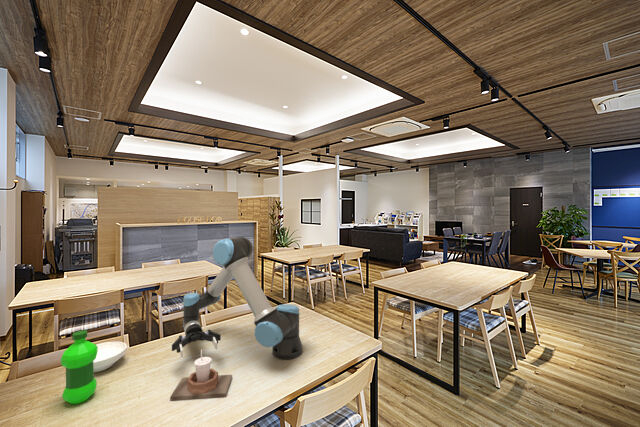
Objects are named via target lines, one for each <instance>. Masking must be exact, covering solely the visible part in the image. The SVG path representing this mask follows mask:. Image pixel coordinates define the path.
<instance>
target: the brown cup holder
mask: <svg viewBox="0 0 640 427" xmlns="http://www.w3.org/2000/svg"><path fill="white" fill-rule="evenodd" d="M232 380H233V374H221V375H219V371H217V370H215V369H214V368H210V373H209V381H207V382H205V383H198V382H197V375H196V371H193V373H192V372H191V373H190V375H189V377H188V376H187V377H181V379H180V381H179V382H178V384H177V385H176V386H175V389H174V390H173V391H172V393H171V395H170V397H169V401H170V402H174V401H175V402H176V401H189V400H202V399H203V400H204V399H214V398H215V399H216V398H227V394H228V392H229V389H230V385H231V383H232Z"/></svg>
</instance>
